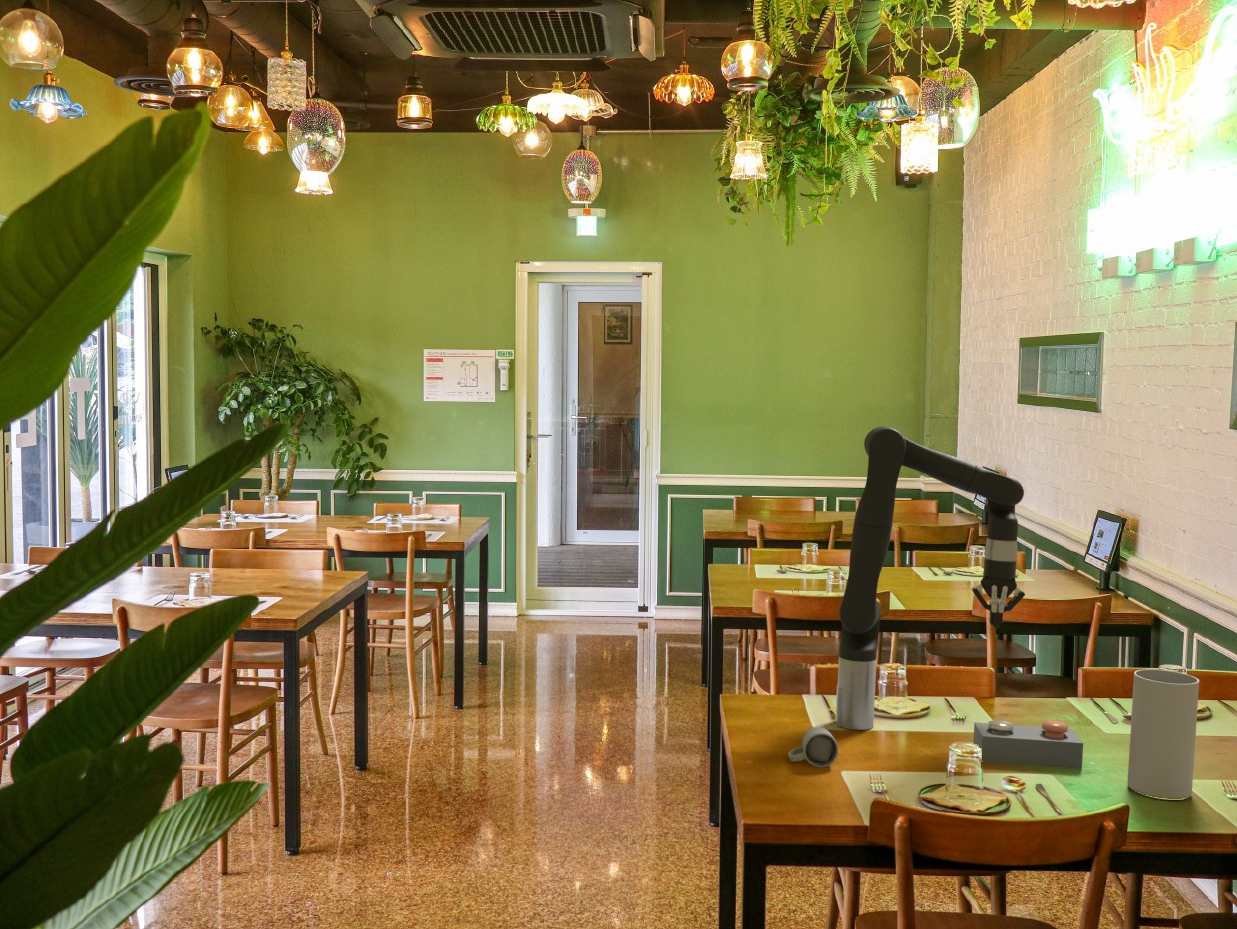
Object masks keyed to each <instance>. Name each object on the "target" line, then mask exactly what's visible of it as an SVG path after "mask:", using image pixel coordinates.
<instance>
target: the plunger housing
mask: <svg viewBox="0 0 1237 929" xmlns="http://www.w3.org/2000/svg"><path fill="white" fill-rule="evenodd" d="M1013 725H1014V728H1013V732H1010V734H998V733H991V730H990V729H989V728H988V722H976V721H975V722H974V724H973V726H974V727H973V743H974V744H977V745H979V747H980V748H982V761H983V762H982V763H991V764H992V763H993V764H1005V765H1017V766H1018V765H1020V766H1034V767H1047V768H1060V769H1070V770H1071V769H1072V768H1073V769H1074V770H1082V769H1083V754H1084V742H1083V741H1082V739H1080V737H1079V736H1078V735H1077V734H1076V733H1075V732H1074V730H1073V729H1072V728H1068V731H1067V732H1065V733H1064V738H1056V737H1045V730H1044V729H1042V726H1036V725H1035V726H1033V725H1020V724H1019V725H1017V724H1013Z"/></svg>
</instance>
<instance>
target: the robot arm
mask: <svg viewBox="0 0 1237 929" xmlns="http://www.w3.org/2000/svg"><path fill="white" fill-rule="evenodd" d="M863 442H864V443H863V446H864V447H863V448H864V450H865V453H866V454H867V456H868V458H867V459H868V463H867V472H866V473H867V475H866V480H865V485H864V489H863V492H862V495H861V496H860V500H859V503H858V505H857V509H856V512H855V516H854V521H853V526H852V533H851V543H850V549H849V550H850V553H849V562H848V563H849V566H848V577H847V580H846V581H847V582H846V585H845V590H844V594H843V596H842V600H841V603H840V608H839V612H838V615H839V620H840V623H841V637H840V641H839V642H840V643H839V648H838V651H839V652H838V670H837V671H838V672H837V673H838V674H837V684H836V698H835V700H836V701H835V702H836V703H835V725H836V727H838V728H844V729H848V730H857V731H858V730H859V731H862V730H863V731H864V730H870V729H873V728H874V721H875V700H876V699H875V696H876V681H877V680H876V677H877V654H878V647H879V639H880V638H879V637H880V636H879V635H880V619H881V617H880V616H881V611H880V604H879V603H878V601H877V594H878V584H879V578H880V577H881V576H880V575H881V572H882V569H883V567H884V563H885V560H886V558H887V554H888V550H889V547H890V542H891V536H892V530H893V522H894V515H895V514H894V513H895V504H896V491H897V485H898V479H899V476H900V472H901V469H902V467H906V468H908V469H910V470H911V469H912V470H914V471H916V472H919V473H922V474H924V475H926V476H928V477H931V478H932V479H935V480H937V481H939V482H942V483H943V484H945V485H948V486H951V487H953V488H956V489H958V490H961V491H964V492H967V493H970V494H973V495H978V496H980V497H982V498H984V499H986V501H987V503H986V504H987V514H988V524H987V535H986V541H985V542H986V543H985V546H984V548H985V549H984V561H983V562H984V564H983V575H982V578H981V580H980V584H977V585H976V586H972V587H971V591H972V593H973V594H974V596H975V597H976V599H977V600H978V602H979V603H980V604H981V606H982V607H983V608H984V609H985V610H988V612H989V621H988V622H989V624H990V625H991V627H992V628H998V629H999V628H1000V626H1002V625H1003V618H1004V617H1003V615H1004V613H1005V612H1010V611H1012V610H1013V609H1014V607H1015V606H1017V605H1018V603H1020V602H1021V600H1022V599H1023V598H1024V597H1025V596H1026V593H1025V592H1024V590H1021V589H1020V588H1019V587H1018V584H1017V581H1016V576H1017V575H1016V574H1017V573H1016V572H1017V561H1018V559H1017V558H1018V534H1019V533H1018V532H1019V520H1018V518H1017V517H1016V505H1018V504H1019V503H1021V501H1022V500H1023V499H1024V496H1025V495H1024V494H1025V490H1024V486H1023V484H1022V483H1021V482H1020V481H1019V480H1018V479H1015V478H1013V477H1010V476H1008V475H1004V474H1001V473H998V472H995V471H993V470H992V471H991V470H989V469H987V468H984V467H982V466H980V465H978V464H976V463H973V462H970V461H968V460H965V459H963V458H960V457H956V456H953V455H951V454H947V453H944V452H940V451H938V450H934V449H932V448H929V447H926V446H924V445H921V444H920V443H919V444H918V443H916V442H914V441H912V440H910V438H909V439H908V438H907V437H905V436H903V434H902V433H901V432H900V430H899V431H898V430H897V429H895V428H893V427H890V426H887V425H884V426H877V427H875V428H872V429H871V430H870V431H868V433H867V434H866V436H865V438H864V441H863ZM983 590H984V592H985V594H986V595H987V596H988V597H989V603H988V602H987V601H986V600H985V597H983V595H982V594H983ZM1011 595H1013V597H1011V599H1010V600H1009V601H1008V602H1007V603H1006V600H1007V599H1008V598H1009V597H1010V596H1011Z"/></svg>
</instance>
